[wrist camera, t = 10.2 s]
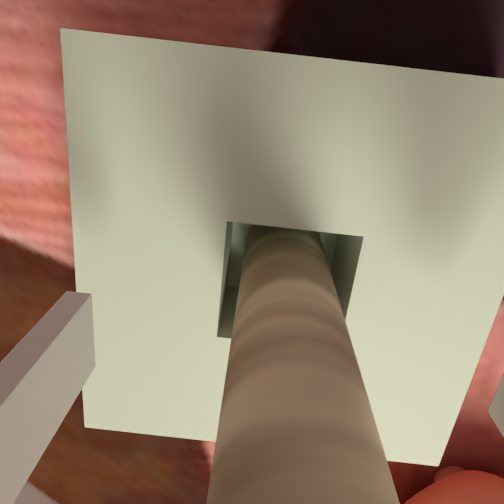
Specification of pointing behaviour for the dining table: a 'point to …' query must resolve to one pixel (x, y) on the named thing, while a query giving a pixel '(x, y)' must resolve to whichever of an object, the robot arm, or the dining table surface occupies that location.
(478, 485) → the teapot
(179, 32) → the dining table surface
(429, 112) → the bore block
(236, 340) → the dowel
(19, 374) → the robot arm
